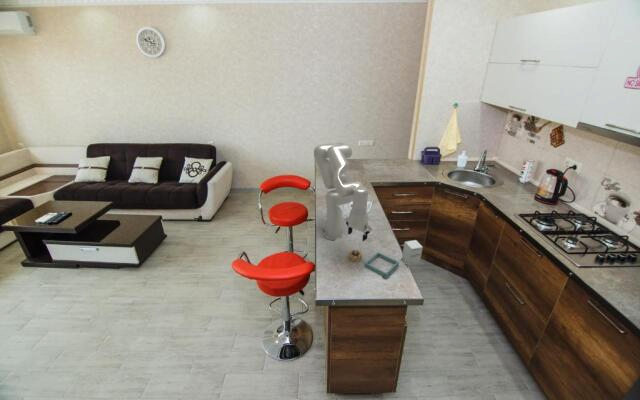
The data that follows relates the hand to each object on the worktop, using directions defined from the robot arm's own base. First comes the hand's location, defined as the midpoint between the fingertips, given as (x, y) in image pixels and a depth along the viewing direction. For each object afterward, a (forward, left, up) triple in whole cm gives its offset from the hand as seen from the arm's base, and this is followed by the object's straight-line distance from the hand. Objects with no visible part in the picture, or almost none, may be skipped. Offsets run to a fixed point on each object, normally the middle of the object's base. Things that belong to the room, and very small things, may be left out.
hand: (357, 236), depth 168 cm
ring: (0, 0, -15) cm, 15 cm away
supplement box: (+25, +19, -16) cm, 35 cm away
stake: (0, 0, -16) cm, 16 cm away
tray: (+15, +4, -16) cm, 22 cm away
